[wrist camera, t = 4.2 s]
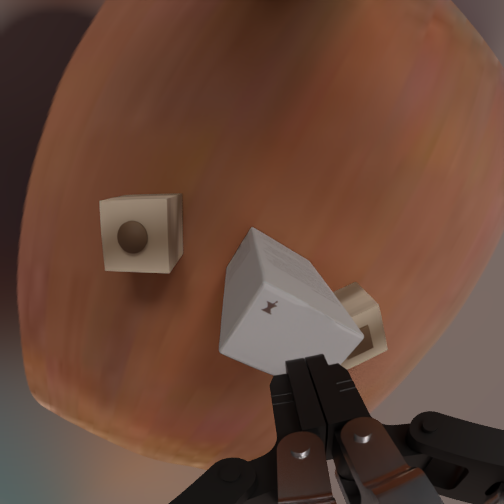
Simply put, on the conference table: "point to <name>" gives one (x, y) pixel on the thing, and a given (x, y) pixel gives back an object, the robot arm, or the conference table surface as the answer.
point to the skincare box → (280, 309)
